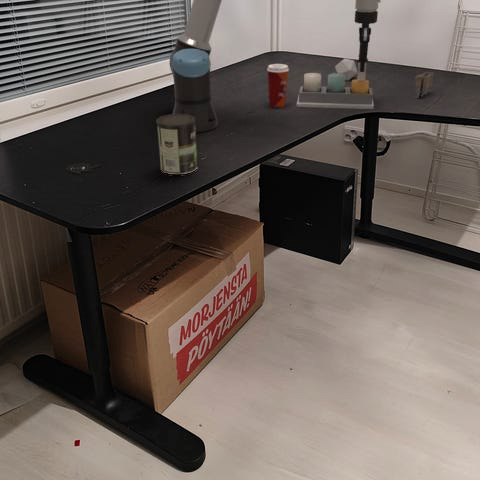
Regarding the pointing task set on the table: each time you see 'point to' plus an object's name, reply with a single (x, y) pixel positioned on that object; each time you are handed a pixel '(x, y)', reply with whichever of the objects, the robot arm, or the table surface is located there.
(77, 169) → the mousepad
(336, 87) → the teal button
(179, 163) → the coffee can
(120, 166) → the table surface
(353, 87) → the orange candle
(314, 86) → the ivory button
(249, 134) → the table surface
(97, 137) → the table surface
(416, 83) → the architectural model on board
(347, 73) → the die
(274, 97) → the paper cup
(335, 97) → the panel
